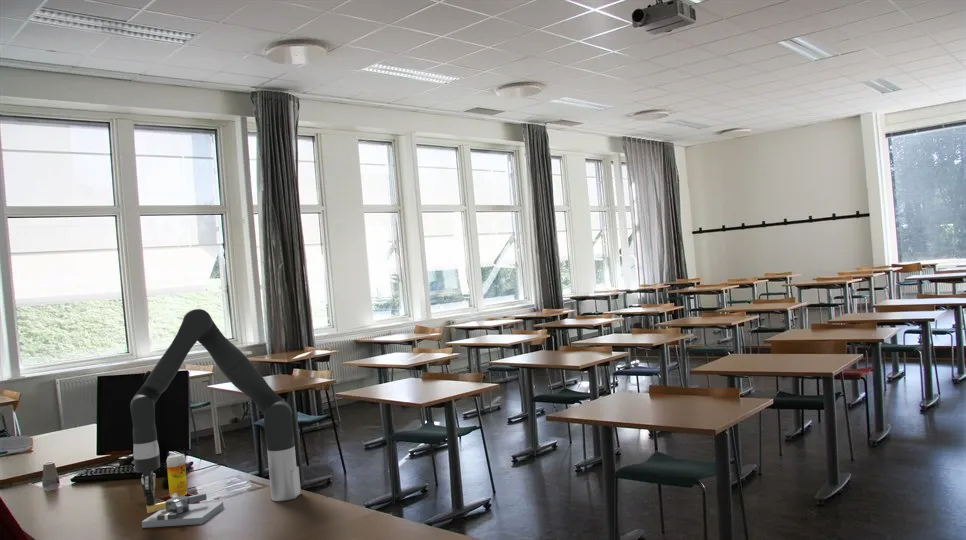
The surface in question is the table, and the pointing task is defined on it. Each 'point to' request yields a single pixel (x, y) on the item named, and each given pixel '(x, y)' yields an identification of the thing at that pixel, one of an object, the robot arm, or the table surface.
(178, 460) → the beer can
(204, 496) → the valve handle
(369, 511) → the table surface
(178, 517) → the stand
